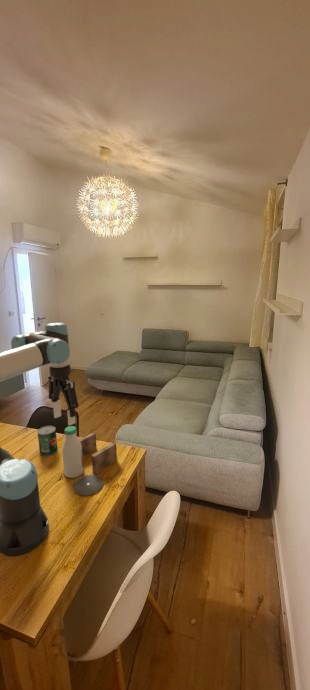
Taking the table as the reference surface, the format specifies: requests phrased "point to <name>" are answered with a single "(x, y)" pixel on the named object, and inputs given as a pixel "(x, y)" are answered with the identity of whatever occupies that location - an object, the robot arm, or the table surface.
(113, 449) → the bookends
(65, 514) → the table surface
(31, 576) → the table surface
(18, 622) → the table surface
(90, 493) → the coaster
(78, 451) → the milk bottle
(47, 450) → the canned tomato
